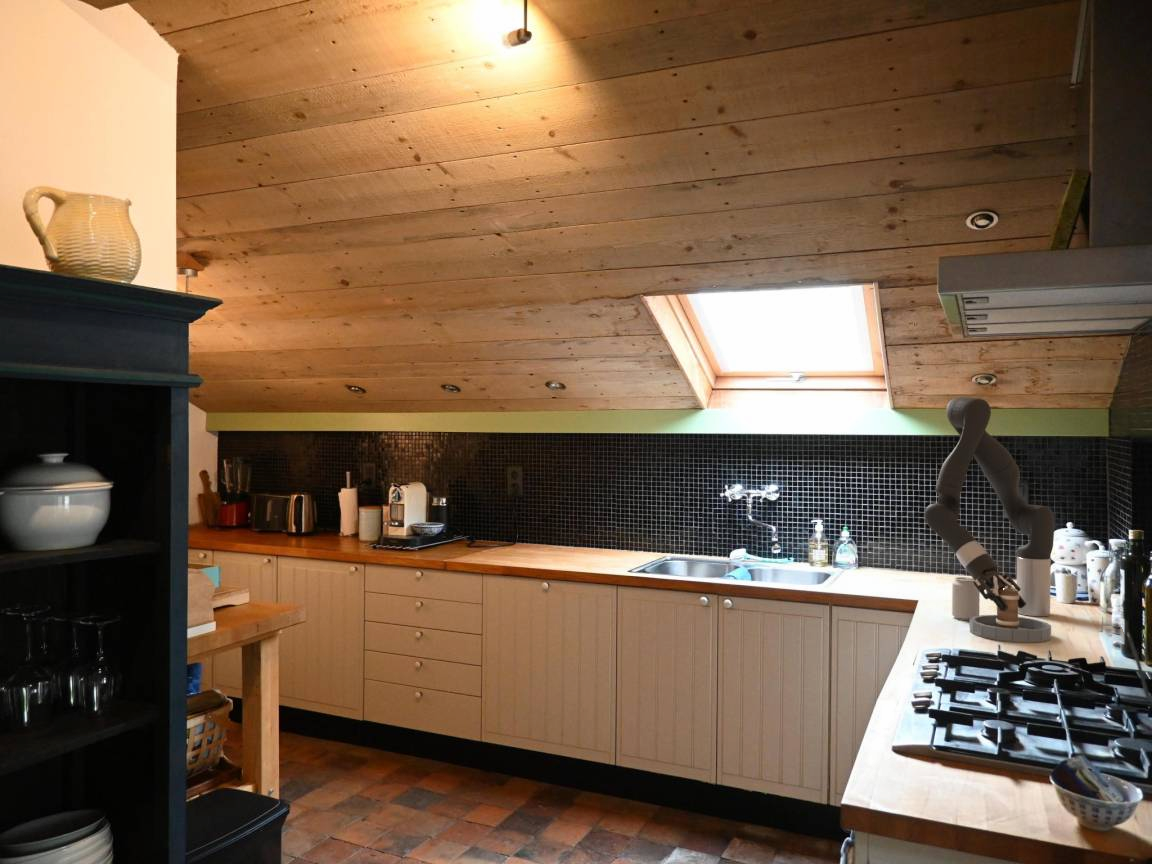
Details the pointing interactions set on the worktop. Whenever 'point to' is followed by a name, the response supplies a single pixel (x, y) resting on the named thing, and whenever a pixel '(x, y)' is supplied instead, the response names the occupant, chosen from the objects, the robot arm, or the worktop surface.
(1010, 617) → the brown banded canister
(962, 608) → the wide mouth jar
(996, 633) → the round tray
